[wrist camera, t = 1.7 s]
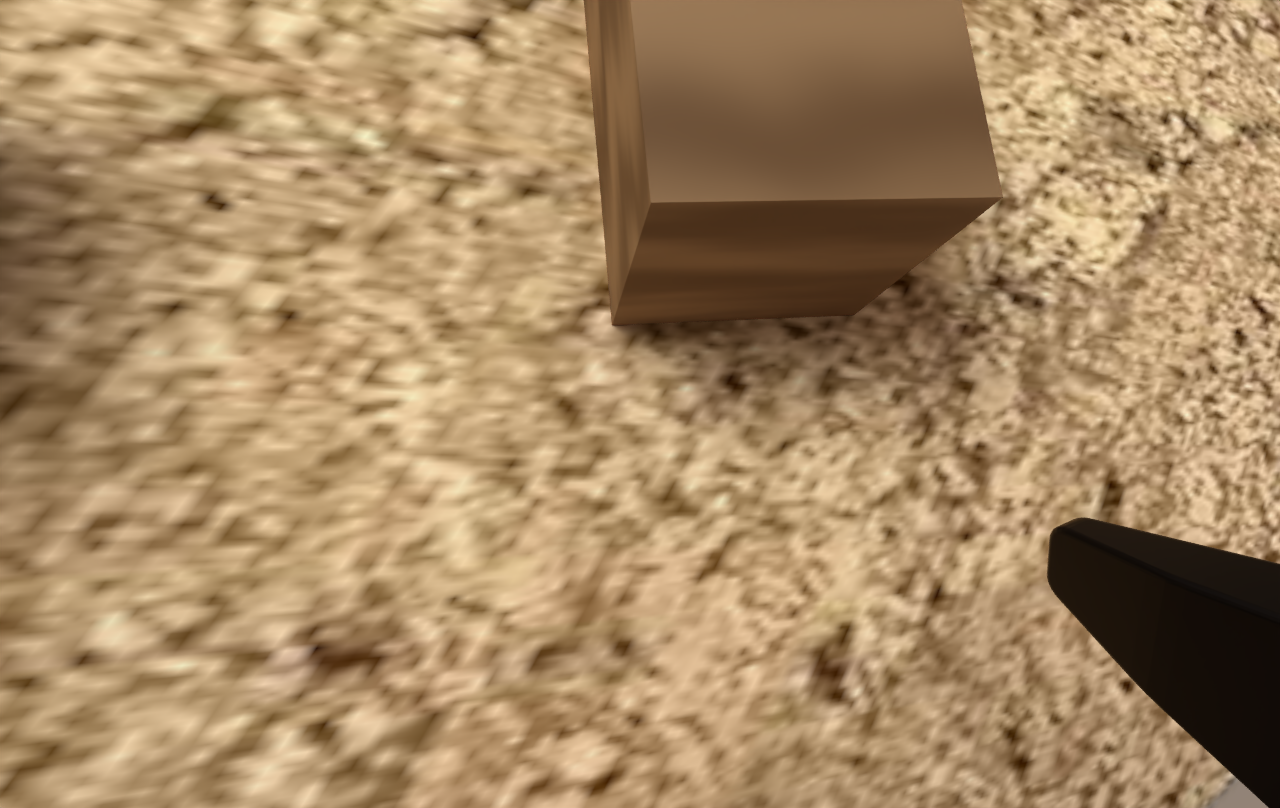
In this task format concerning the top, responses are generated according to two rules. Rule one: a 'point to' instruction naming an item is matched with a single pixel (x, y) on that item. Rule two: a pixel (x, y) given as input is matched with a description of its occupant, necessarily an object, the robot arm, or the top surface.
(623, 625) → the top surface
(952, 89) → the walnut block
